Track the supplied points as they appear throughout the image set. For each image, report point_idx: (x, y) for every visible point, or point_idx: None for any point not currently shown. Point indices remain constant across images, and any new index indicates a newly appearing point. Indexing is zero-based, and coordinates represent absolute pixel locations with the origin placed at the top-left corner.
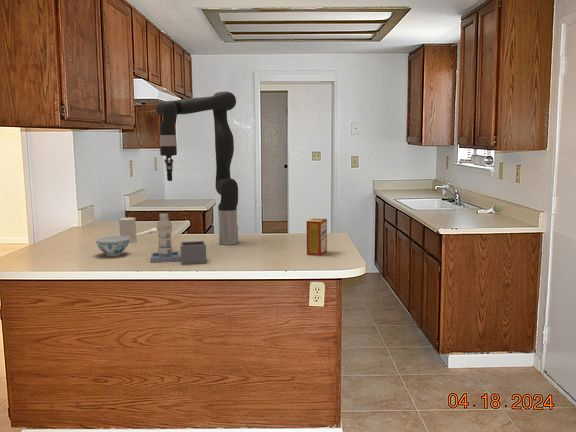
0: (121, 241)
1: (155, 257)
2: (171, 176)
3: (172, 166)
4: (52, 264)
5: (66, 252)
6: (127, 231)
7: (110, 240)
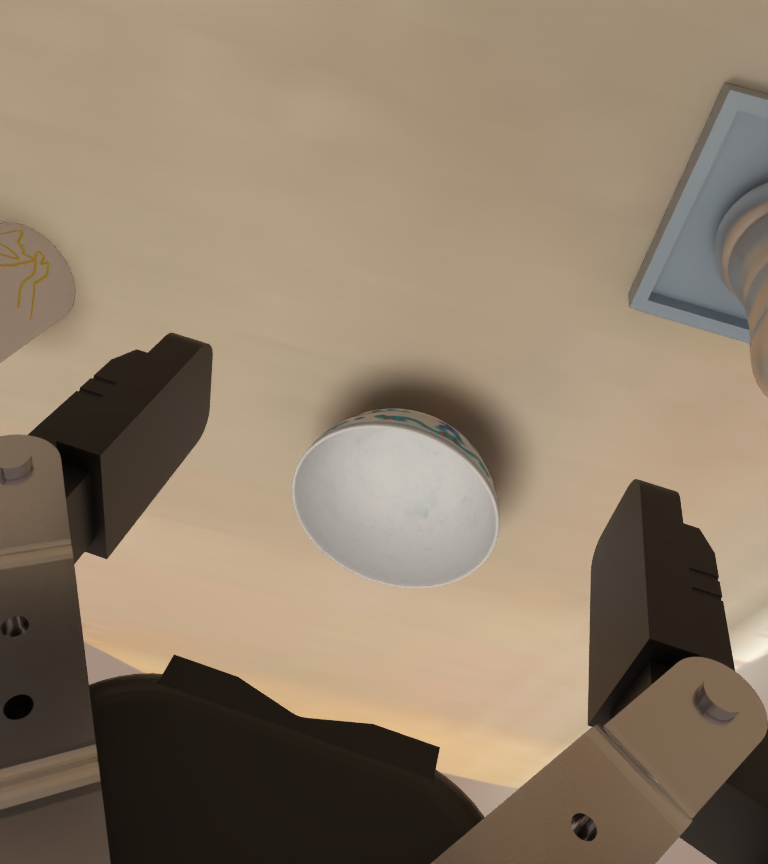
0: (493, 492)
1: (703, 288)
2: (682, 579)
3: (666, 845)
4: (491, 679)
5: (250, 583)
6: (26, 323)
7: (310, 483)
